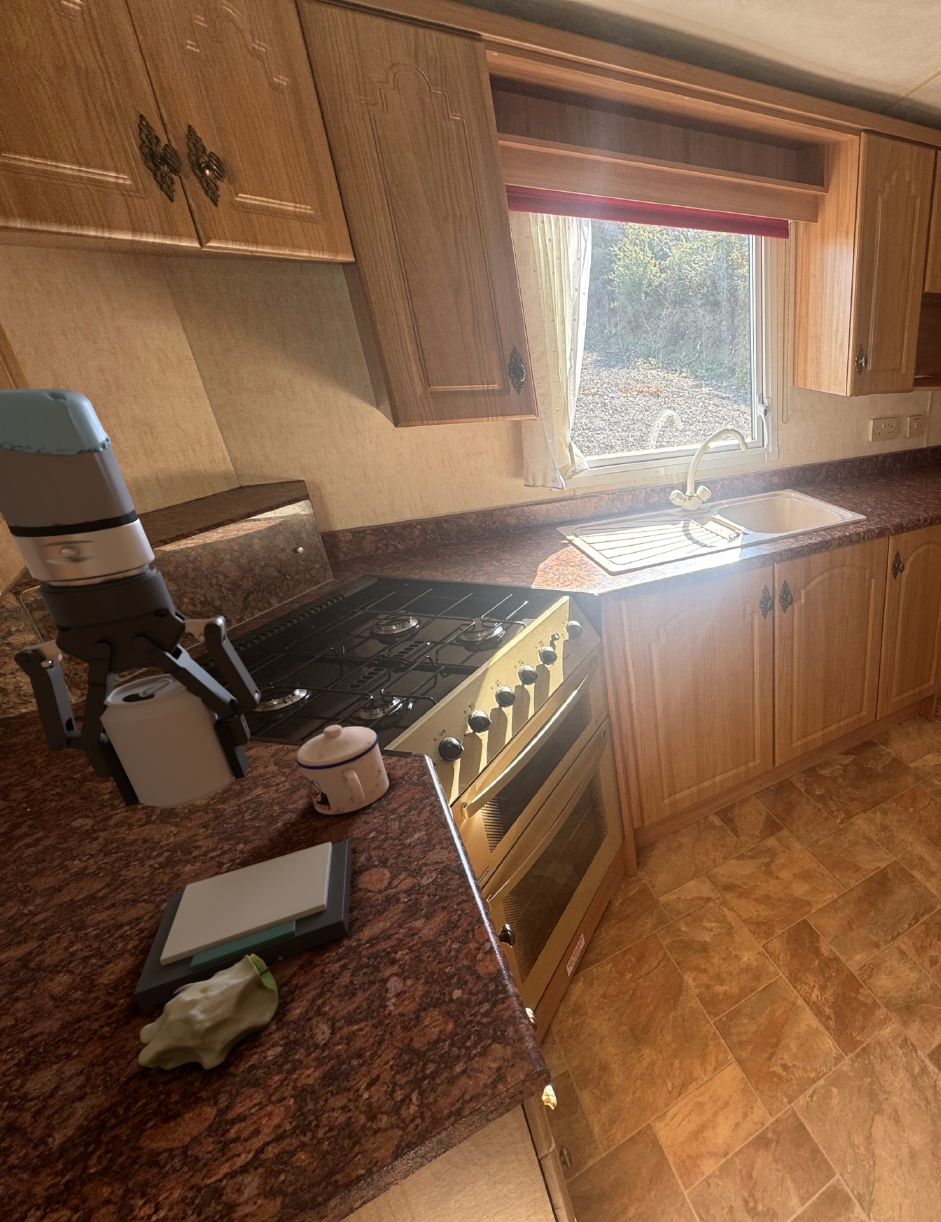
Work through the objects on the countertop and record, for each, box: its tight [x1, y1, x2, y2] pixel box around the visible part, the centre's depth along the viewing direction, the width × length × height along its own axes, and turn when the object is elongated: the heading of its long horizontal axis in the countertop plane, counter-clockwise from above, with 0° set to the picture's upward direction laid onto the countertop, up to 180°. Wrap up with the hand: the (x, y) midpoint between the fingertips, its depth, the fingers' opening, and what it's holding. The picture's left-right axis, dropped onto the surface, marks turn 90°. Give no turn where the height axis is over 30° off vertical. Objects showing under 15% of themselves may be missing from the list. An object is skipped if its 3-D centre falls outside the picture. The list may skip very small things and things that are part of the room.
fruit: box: [137, 954, 283, 1071], centre depth 58 cm, size 9×9×8 cm
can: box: [100, 673, 234, 809], centre depth 63 cm, size 8×8×12 cm
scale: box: [133, 839, 353, 1010], centre depth 69 cm, size 16×14×4 cm
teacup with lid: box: [295, 724, 390, 815], centre depth 86 cm, size 12×9×12 cm
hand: (190, 784), depth 65 cm, fingers closed on can, 7 cm apart
